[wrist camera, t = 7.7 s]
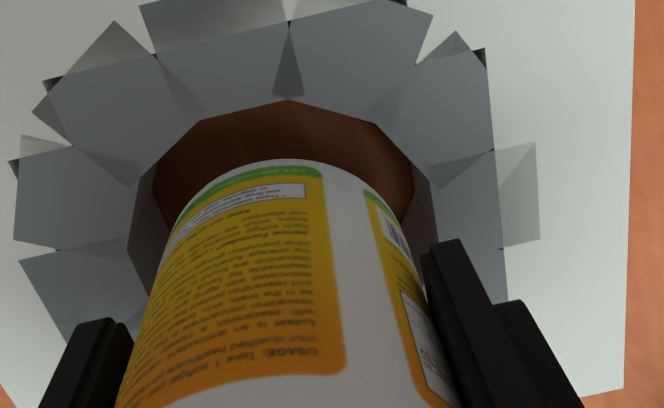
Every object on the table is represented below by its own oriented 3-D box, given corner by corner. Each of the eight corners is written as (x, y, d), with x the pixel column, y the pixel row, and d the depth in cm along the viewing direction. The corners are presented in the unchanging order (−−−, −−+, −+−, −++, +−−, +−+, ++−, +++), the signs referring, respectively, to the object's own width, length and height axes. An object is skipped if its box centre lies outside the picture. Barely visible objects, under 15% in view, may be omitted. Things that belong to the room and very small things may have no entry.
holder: (-139, 1, 13) (-242, 32, 11) (566, -176, 13) (641, -190, 10) (108, 421, 20) (82, 502, 17) (576, 319, 19) (623, 388, 17)
